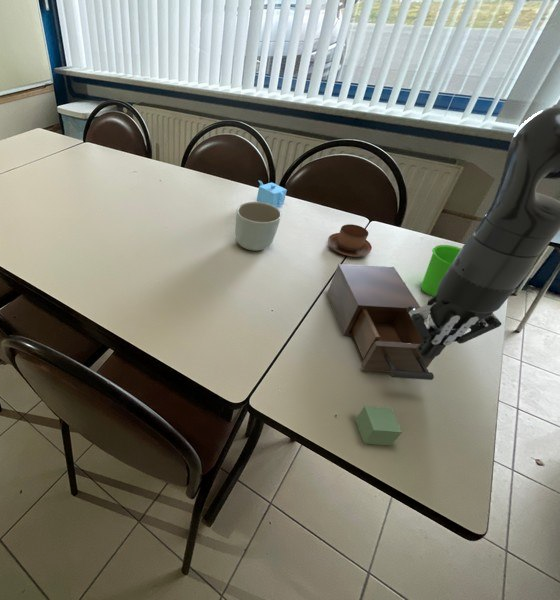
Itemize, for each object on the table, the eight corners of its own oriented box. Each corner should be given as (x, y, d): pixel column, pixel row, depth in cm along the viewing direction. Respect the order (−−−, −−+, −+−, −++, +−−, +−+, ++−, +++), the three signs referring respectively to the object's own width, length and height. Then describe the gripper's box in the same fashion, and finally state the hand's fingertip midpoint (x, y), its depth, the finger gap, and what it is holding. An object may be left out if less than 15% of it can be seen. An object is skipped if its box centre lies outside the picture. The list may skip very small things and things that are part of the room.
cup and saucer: (329, 234, 115) (336, 216, 111) (371, 244, 111) (379, 226, 107) (322, 253, 107) (329, 235, 103) (367, 264, 103) (375, 246, 99)
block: (390, 445, 63) (402, 432, 60) (363, 443, 63) (373, 430, 60) (381, 421, 67) (391, 407, 63) (355, 419, 67) (364, 405, 64)
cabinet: (402, 339, 82) (421, 308, 75) (343, 335, 82) (358, 305, 76) (378, 296, 93) (393, 266, 87) (326, 293, 94) (338, 263, 87)
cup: (414, 296, 93) (435, 261, 85) (410, 276, 99) (430, 241, 92) (455, 305, 90) (481, 269, 83) (448, 284, 96) (472, 249, 89)
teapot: (249, 199, 133) (252, 179, 128) (261, 195, 135) (265, 176, 130) (273, 213, 125) (278, 192, 120) (286, 208, 128) (291, 188, 123)
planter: (271, 235, 115) (279, 203, 107) (275, 257, 105) (283, 224, 98) (231, 232, 116) (236, 200, 109) (231, 254, 107) (236, 220, 100)
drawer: (433, 394, 70) (454, 370, 65) (370, 390, 70) (386, 366, 66) (395, 325, 84) (410, 301, 79) (343, 322, 84) (354, 298, 79)
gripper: (448, 284, 47) (392, 369, 59) (558, 291, 46) (479, 376, 58) (422, 252, 53) (376, 335, 64) (519, 258, 52) (455, 341, 63)
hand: (425, 354), depth 61 cm, fingers closed
